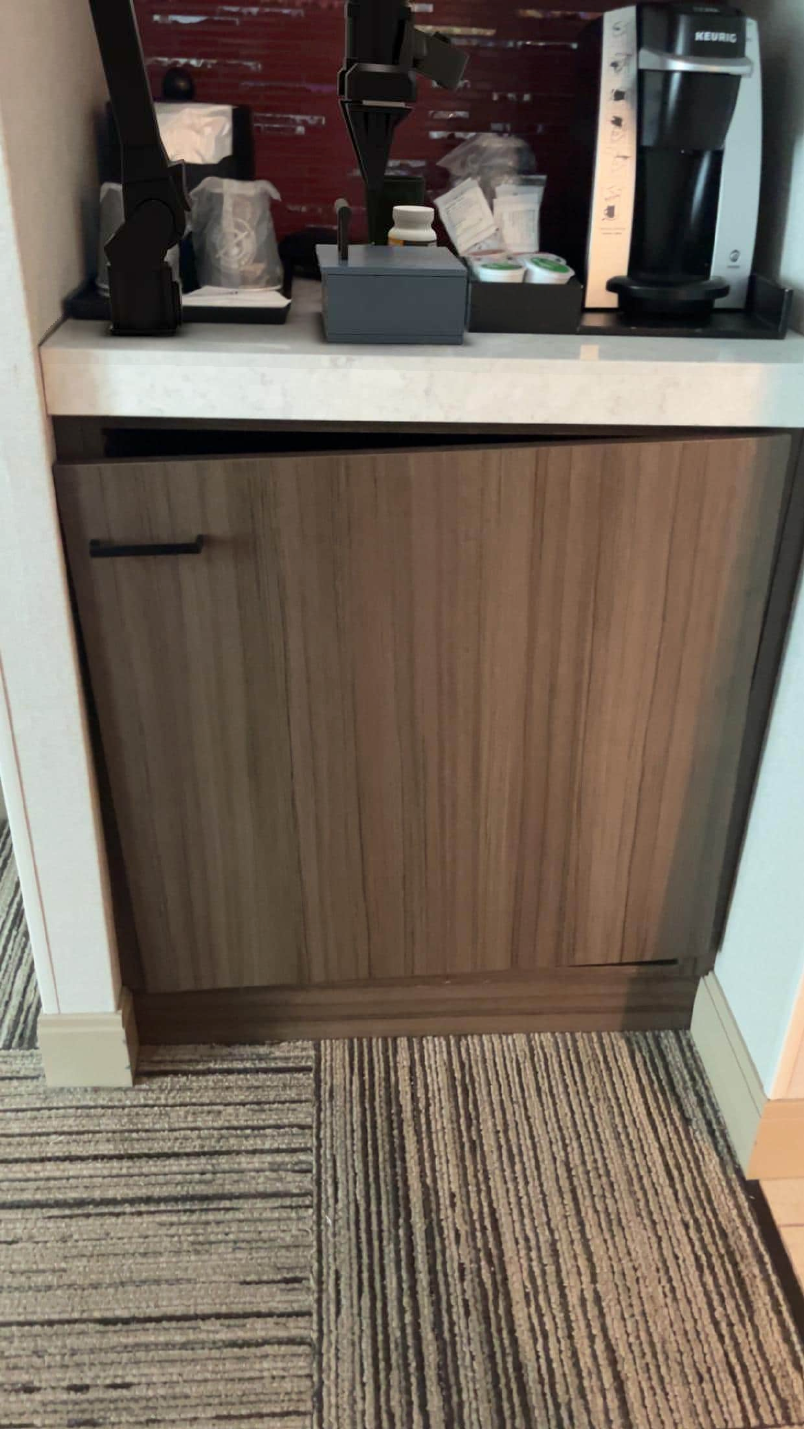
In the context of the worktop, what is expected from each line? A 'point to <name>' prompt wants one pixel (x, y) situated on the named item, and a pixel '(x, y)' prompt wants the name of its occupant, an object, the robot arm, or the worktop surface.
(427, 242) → the pill bottle
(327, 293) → the box
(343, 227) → the freezer lid
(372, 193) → the cup
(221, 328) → the worktop surface
